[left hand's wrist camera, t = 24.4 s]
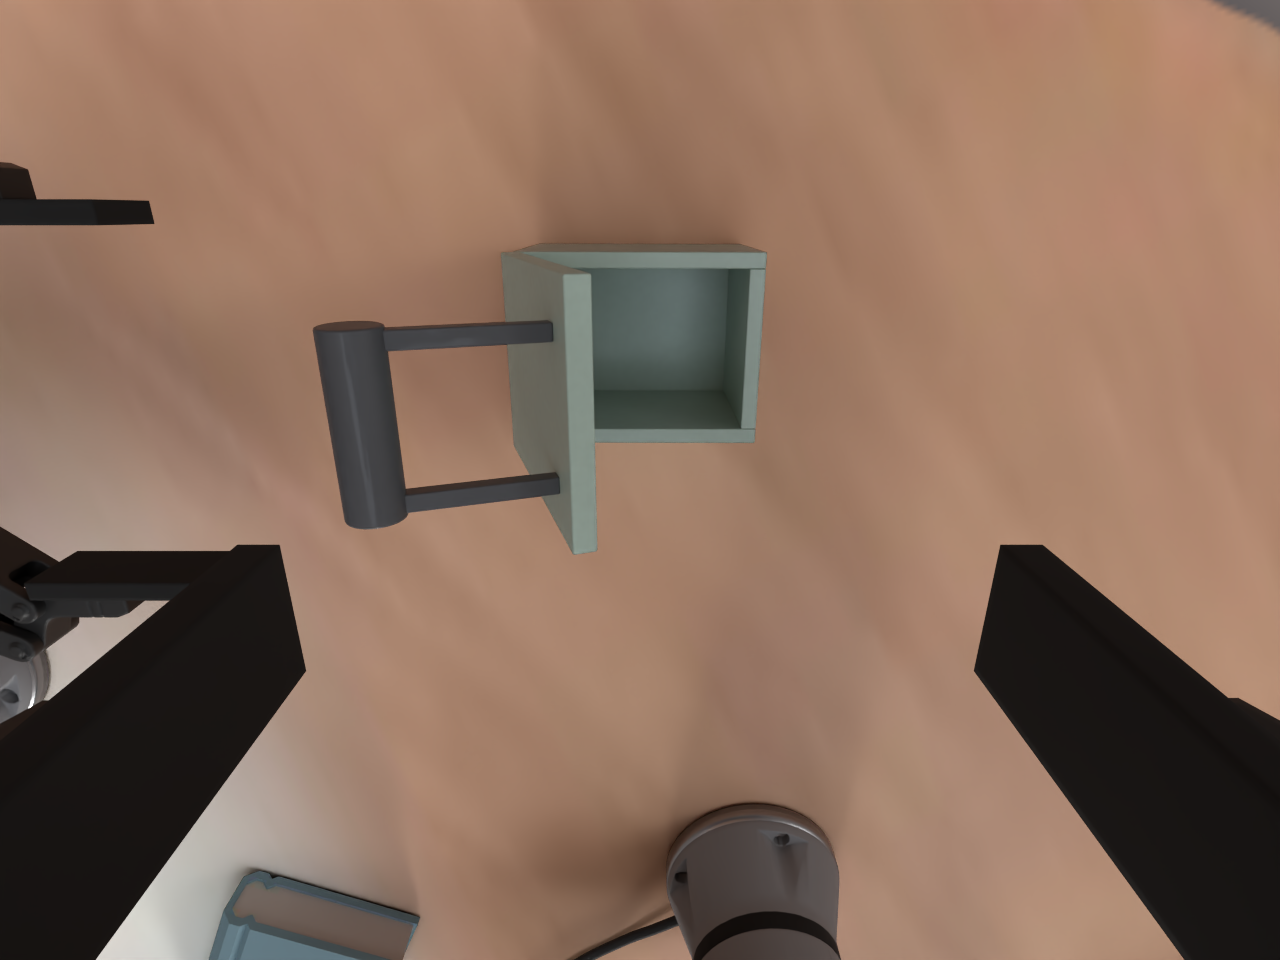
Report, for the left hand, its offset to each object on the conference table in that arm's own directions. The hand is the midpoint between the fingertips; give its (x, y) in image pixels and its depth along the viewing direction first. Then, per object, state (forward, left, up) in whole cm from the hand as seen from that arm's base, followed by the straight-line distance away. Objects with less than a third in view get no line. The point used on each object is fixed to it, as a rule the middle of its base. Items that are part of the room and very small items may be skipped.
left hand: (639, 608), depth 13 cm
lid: (-3, +2, -18) cm, 19 cm away
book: (-58, -40, -35) cm, 78 cm away
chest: (0, 0, -35) cm, 35 cm away
